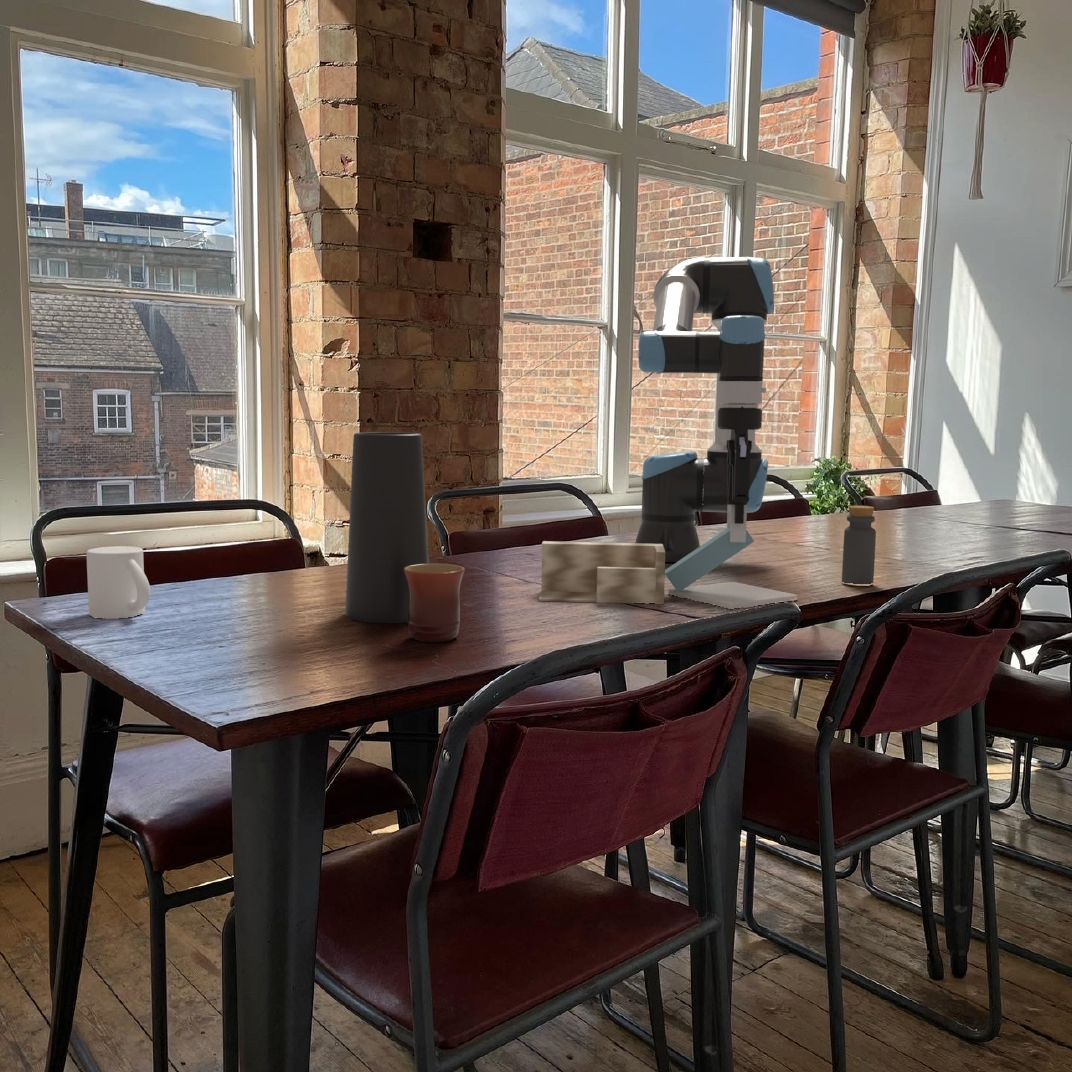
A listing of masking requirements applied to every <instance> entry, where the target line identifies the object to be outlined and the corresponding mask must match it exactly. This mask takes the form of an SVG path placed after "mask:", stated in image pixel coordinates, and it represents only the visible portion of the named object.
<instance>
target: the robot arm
mask: <svg viewBox="0 0 1072 1072" xmlns="http://www.w3.org/2000/svg"><path fill="white" fill-rule="evenodd" d="M774 292H775V290H774V280H773V272H772V267H771V264H770V261H768V260H767V259H766V258H764V257H757V256H756V257H754V256H753V257H752V256H748V255H747V256H730V257H727V256H723V257H722V256H721V257H704V256H703V257H694V258H689V259H686V260H684V261H681V262H679V263H677V264H675V265H674V266H672V267H671V268H669V269H668V270H667V271H665V272H664V273H663V274H662V275H661V276H660V278H659V279H658V280H657V282H656V284H655V287H654V291H653V304H654V306H655V315H654V319H653V320H654V321H653V326H652V330H651V331H649V330H648V331H643V332H641V334H640V335H639V338H638V339H639V340H638V368H639V369H640V371H641V372H643V373H653V374H654V373H655V374H658V375H659V374H660V375H661V374H716V385H715V386H716V389H715V391H716V392H715V393H716V394H715V418H714V419H715V420H714V421H715V423H714V441H713V444H712V445H711V446H710V447H708V448H707V450H706V458H705V457H704V458H703V457H698V453H697V452H696V451H680V452H678V451H677V452H670V453H668V452H667V453H662V454H661V453H660V454H655V455H651V456H648V457H647V458H646V459H645V460H643V465H642V466H643V467H642V476H641V480H642V487H641V488H642V493H641V497H642V498H641V520H640V521H641V522H640V526H639V529H638V531H637V535H636V538H635V543H642V544H663V547H664V550H665V562H678V561H679V560H681V559H682V558H684V557H685V556H687V555H688V554H690V553H691V552H693V551H694V550H696V549H697V548H699V547H700V546H701V545H700V540H699V536H698V532H697V528H696V524H695V523H696V521H695V518H696V512H708V513H727V515H726V519H727V520H726V529H727V528H728V527H730V542H746V530H747V516H748V515H747V514H748V513H755V512H757V511H758V510H759V509H760V508H761V507H762V503H763V499H764V494H765V491H766V490H765V488H766V483H767V478H768V467H769V461H768V460H767V459H766V458H763V457H762V453H763V452H762V449H760V447H759V445H757V443H756V431H757V430H760V429H762V423H763V422H762V421H763V410H762V408H759V406H760V405H762V403H763V394H764V393H766V391H767V387H764V386H763V381H764V378H763V377H764V359H765V358H764V357H765V339H766V332H765V325H766V324H767V322H768V321H767V318H768V315H771V314H773V313H774V312H775V293H774ZM694 314H710V315H711V324H712V325H713V326H714V327H715V328H716V329H717V331H693V328H694V316H695V315H694Z"/></svg>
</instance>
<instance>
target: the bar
mask: <svg viewBox="0 0 1072 1072" xmlns="http://www.w3.org/2000/svg"><path fill="white" fill-rule="evenodd" d="M754 542H755V541H754V539H753V537H752V536H751V535H750V533H749V531H748V530H747V529H746V542H730V527H728V528H727V527H726V528H725V529H724V530H722V531H721V532H719V533H718V534H716V535H714V536H713V537H712V538H711V539H708V541H706V542H705V543H703V544H702V545H700V547H699V548H697V549H696V550H694V551H693V552H691V553H690V554H688V555H687V556H685V557H684V558H682V559H681V560H679V561H678V562H676V563H674V564H673V563H672V565H670V566H669V567H668V568H665V577H666V578H667V579H668V580H669V582H670V583H671V585H672V586H673V589H674V588H675V589H676V590H677V592H678V593H679V592H680V591H682V590H683V589H685V588H686V587H690V585H692V584H694V583H695V582H696V581H697V580H699V579H701V578H703V577H704V576H705V575H707V574H709V573H710V572H711V571H713V570H714V569H716V568H717V567H718V566H720V565H721V564H723V563H724V562H726V561H728V560H729V559H731V558H732V557H734V556H735V555H736V554H738V553H739V552H741V551H743V550H744V549H745V548H747V547H749V546H750V545H751V544H753V543H754Z"/></svg>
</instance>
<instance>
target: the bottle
mask: <svg viewBox="0 0 1072 1072" xmlns="http://www.w3.org/2000/svg"><path fill="white" fill-rule="evenodd" d="M874 511H875V507H874V506H869V505H849V506H848V512H849V514H848V515H847V516H846V521H847V522H849V526H847V527H845V528H844V532H843V549H842V569H841V583H842V582H844V583H853V584H871V583H873V584H874V575H875V559H876V545H877V544H876V543H877V542H876V541H877V540H876V539H877V531H876V529H875V528H874V527H872V523H874V522H875V520H876V518H875V516H873V515H874Z"/></svg>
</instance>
